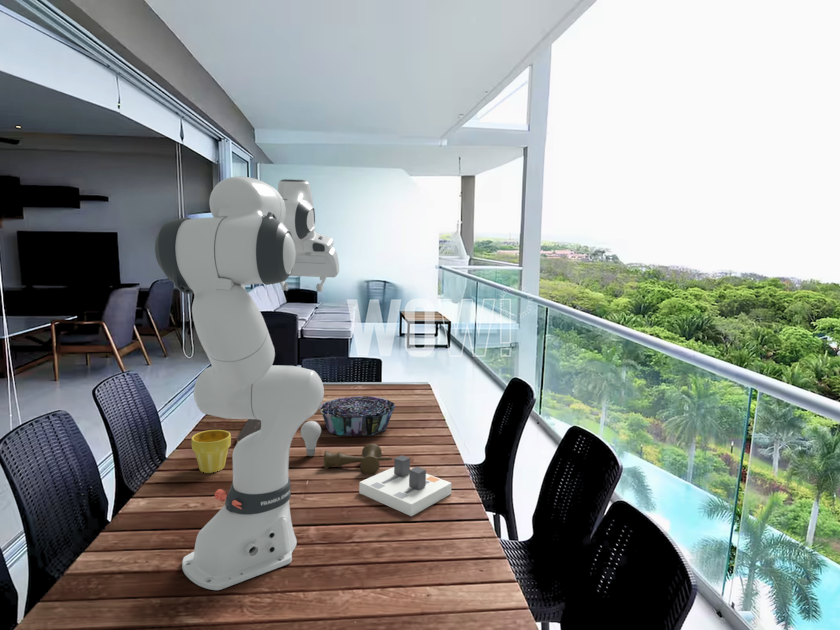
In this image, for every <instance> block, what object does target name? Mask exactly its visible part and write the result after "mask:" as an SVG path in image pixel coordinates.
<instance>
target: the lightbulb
mask: <svg viewBox="0 0 840 630" xmlns="http://www.w3.org/2000/svg"><path fill="white" fill-rule="evenodd" d="M321 434H322V428H321V425H320V424H319V422H317V421H314V420H308V421H305V422H304V423H303V424H302V425H301V428H300V436H301V438H302V440H303V441H304V445H305V449H306V455H307V456H309V457H313V456H314V455H315V454H316V448H317V442H318V440H319V438H320V436H321Z"/></svg>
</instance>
